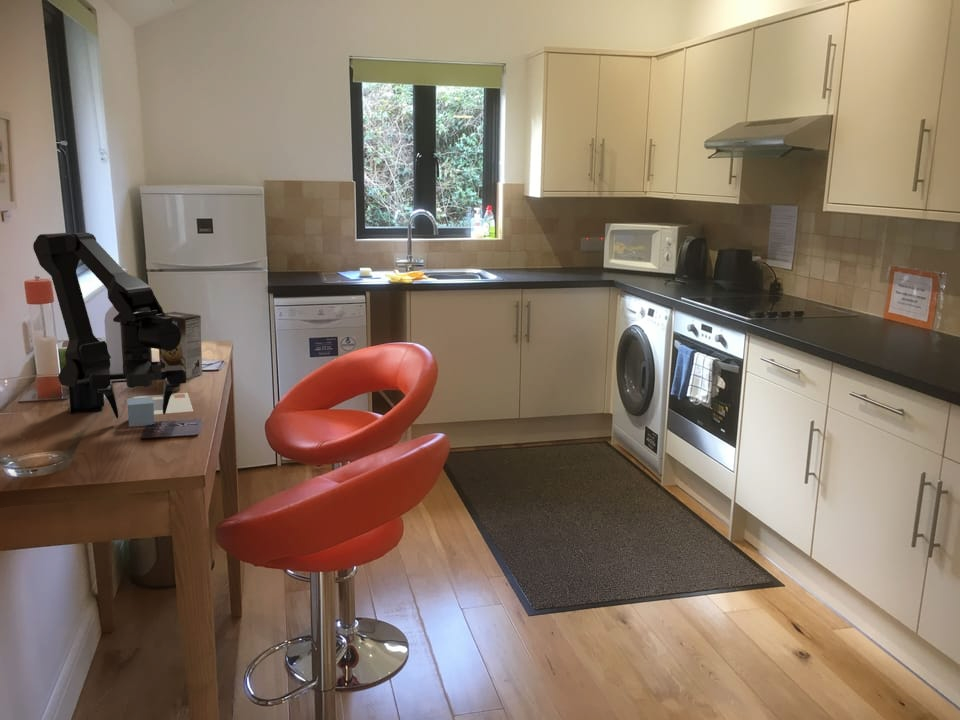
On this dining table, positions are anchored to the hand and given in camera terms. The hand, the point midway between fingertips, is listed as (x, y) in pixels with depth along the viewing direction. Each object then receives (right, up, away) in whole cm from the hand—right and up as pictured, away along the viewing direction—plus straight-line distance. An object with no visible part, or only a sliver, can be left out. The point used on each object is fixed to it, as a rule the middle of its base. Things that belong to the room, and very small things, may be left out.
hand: (140, 415), depth 175 cm
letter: (-1, +2, +14) cm, 14 cm away
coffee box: (-6, +8, +40) cm, 42 cm away
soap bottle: (-21, +9, +41) cm, 47 cm away
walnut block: (-4, +5, +26) cm, 27 cm away
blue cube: (0, -2, 0) cm, 2 cm away
